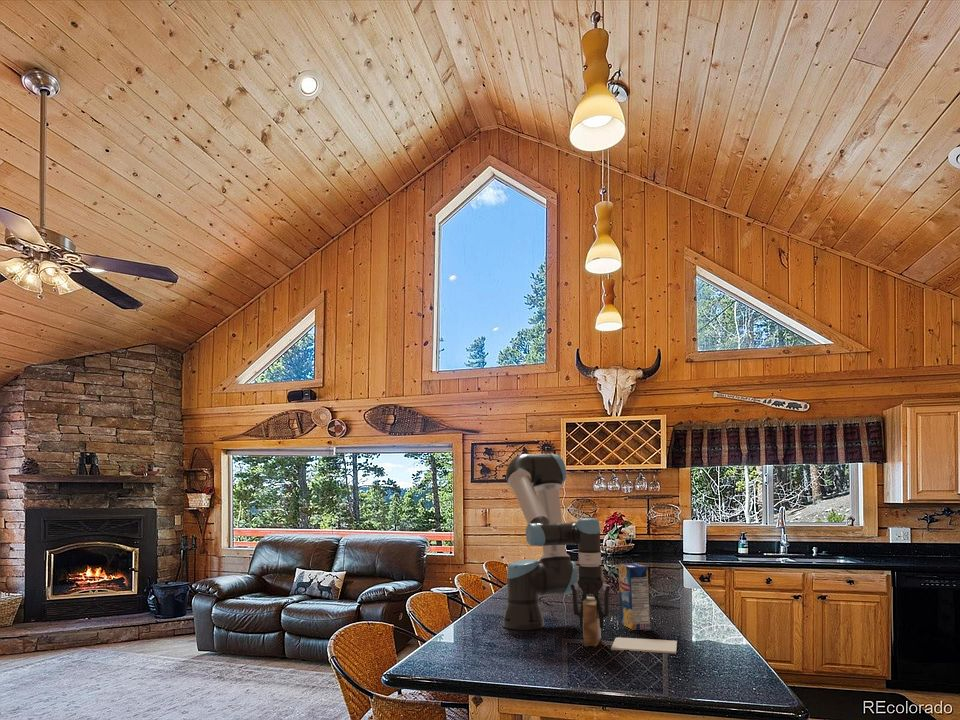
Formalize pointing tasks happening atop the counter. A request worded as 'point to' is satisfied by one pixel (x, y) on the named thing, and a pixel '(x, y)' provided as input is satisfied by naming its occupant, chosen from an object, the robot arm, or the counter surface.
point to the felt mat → (645, 645)
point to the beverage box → (634, 596)
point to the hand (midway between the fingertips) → (592, 637)
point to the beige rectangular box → (590, 622)
